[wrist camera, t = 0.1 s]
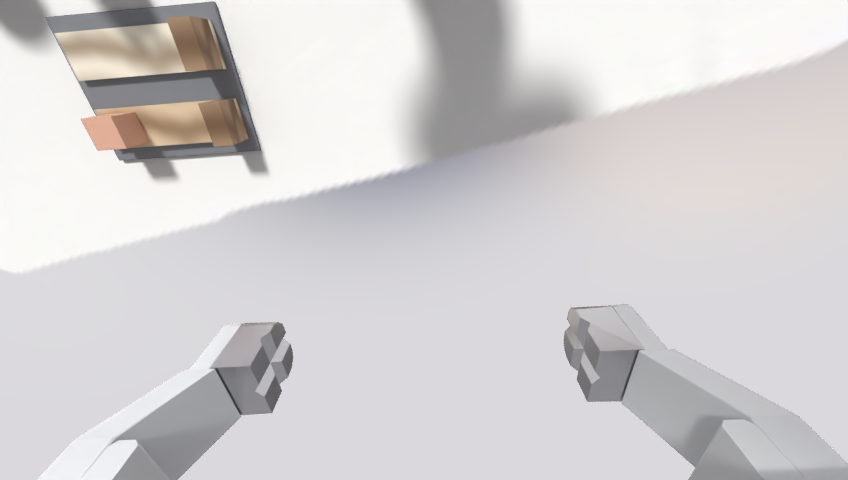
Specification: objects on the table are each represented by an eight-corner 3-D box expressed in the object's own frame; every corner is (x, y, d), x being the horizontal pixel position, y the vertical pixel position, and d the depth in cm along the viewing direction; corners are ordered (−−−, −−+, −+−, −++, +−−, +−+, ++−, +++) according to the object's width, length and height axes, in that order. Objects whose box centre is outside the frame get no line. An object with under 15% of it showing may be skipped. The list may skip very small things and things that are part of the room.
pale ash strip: (59, 33, 47) (23, 31, 42) (210, 19, 46) (188, 15, 41) (83, 80, 49) (51, 82, 45) (226, 68, 48) (207, 69, 44)
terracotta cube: (107, 114, 51) (80, 118, 47) (135, 111, 51) (110, 116, 47) (122, 143, 53) (97, 150, 49) (149, 141, 53) (126, 148, 49)
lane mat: (49, 17, 46) (44, 17, 46) (215, 2, 45) (212, 1, 45) (122, 159, 56) (119, 160, 55) (260, 149, 55) (259, 150, 54)
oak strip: (98, 109, 51) (68, 113, 47) (236, 98, 50) (218, 101, 46) (118, 148, 54) (92, 155, 50) (248, 138, 53) (233, 145, 49)
